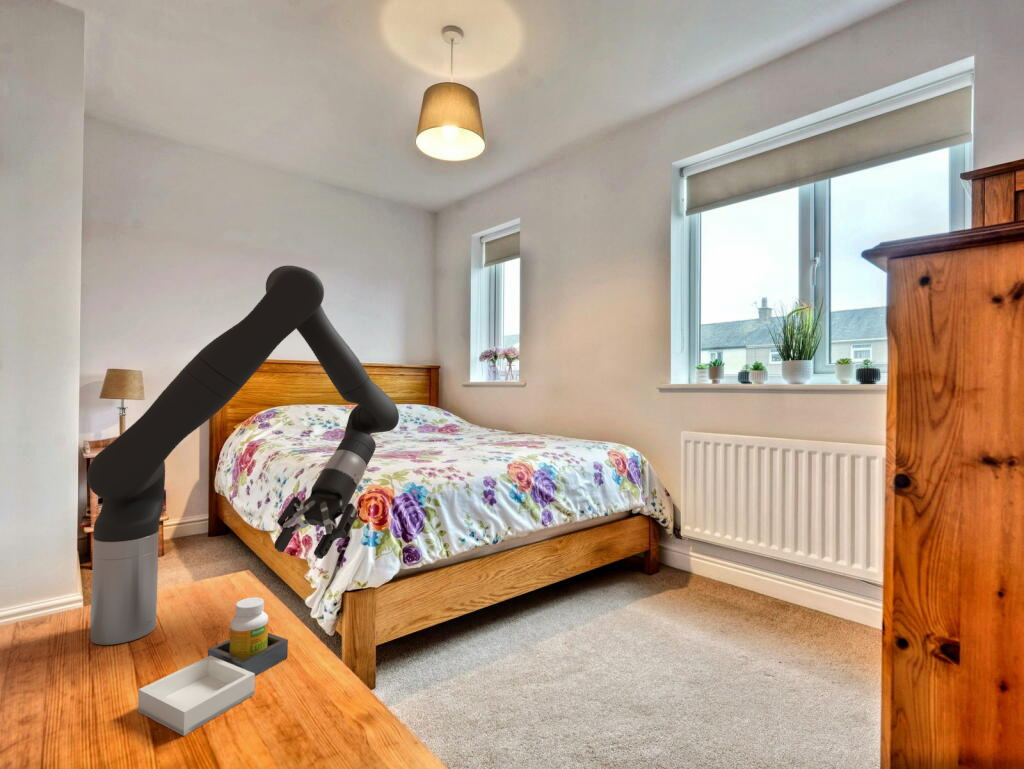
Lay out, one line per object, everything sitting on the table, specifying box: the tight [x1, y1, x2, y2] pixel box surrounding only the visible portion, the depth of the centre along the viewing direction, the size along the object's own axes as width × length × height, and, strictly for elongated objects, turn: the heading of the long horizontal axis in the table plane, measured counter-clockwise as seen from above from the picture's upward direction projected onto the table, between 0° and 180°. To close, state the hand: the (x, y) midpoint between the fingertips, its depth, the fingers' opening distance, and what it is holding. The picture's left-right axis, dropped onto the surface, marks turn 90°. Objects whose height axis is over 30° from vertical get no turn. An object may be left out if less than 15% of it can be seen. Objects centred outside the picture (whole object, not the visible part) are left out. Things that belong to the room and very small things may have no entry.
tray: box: [137, 655, 256, 737], centre depth 72 cm, size 10×10×3 cm
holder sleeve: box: [207, 632, 289, 677], centre depth 82 cm, size 8×8×3 cm
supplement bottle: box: [229, 596, 269, 659], centre depth 82 cm, size 5×5×10 cm
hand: (297, 553), depth 92 cm, fingers open, 8 cm apart
